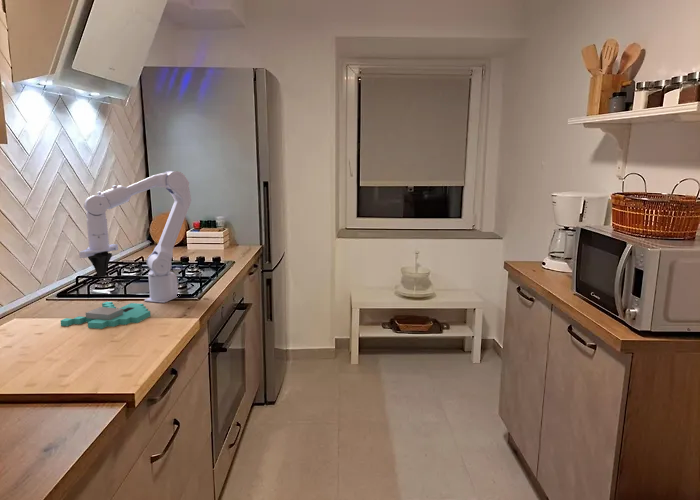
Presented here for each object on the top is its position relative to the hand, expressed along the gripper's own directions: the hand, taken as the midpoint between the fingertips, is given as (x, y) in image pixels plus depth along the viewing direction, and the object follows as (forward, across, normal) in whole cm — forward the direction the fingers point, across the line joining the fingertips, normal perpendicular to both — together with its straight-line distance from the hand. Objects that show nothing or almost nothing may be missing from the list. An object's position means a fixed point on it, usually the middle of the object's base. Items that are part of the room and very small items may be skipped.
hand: (101, 276), depth 160 cm
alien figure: (+11, +8, +10) cm, 17 cm away
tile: (+8, +9, +10) cm, 16 cm away
